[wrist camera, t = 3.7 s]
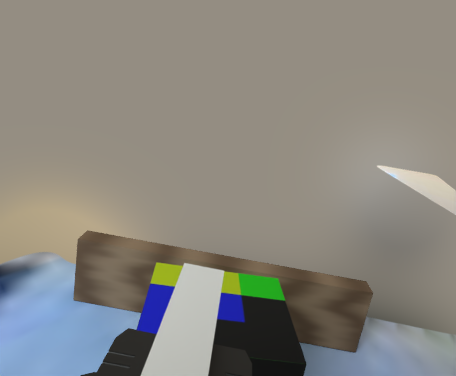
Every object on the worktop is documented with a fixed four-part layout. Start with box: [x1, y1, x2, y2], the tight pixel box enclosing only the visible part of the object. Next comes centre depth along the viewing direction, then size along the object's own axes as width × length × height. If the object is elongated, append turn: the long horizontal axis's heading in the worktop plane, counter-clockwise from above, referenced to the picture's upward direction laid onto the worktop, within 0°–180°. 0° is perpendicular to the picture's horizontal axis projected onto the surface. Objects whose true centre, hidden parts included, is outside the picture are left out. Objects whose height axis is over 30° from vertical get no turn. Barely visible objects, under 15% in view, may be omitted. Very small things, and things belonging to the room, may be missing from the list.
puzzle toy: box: [137, 262, 306, 376], centre depth 28 cm, size 10×10×10 cm
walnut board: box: [74, 231, 373, 352], centre depth 41 cm, size 30×2×7 cm, turn 86°
